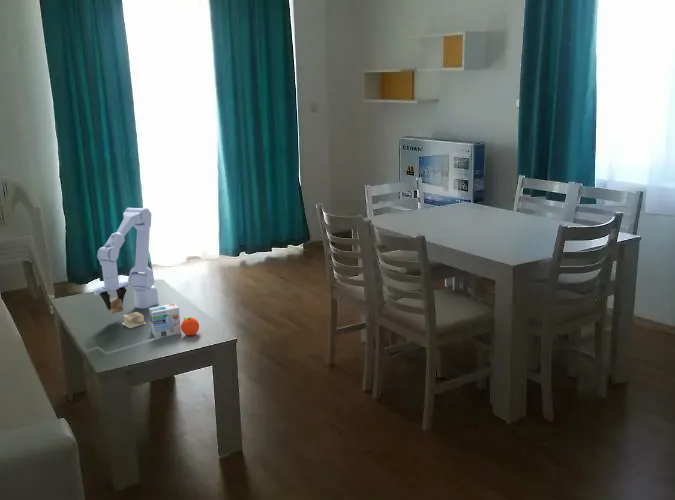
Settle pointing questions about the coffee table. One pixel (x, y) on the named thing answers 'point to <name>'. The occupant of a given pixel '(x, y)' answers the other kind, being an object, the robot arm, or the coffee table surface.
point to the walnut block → (115, 305)
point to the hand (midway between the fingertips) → (114, 307)
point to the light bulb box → (165, 320)
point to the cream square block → (133, 319)
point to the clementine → (190, 326)
